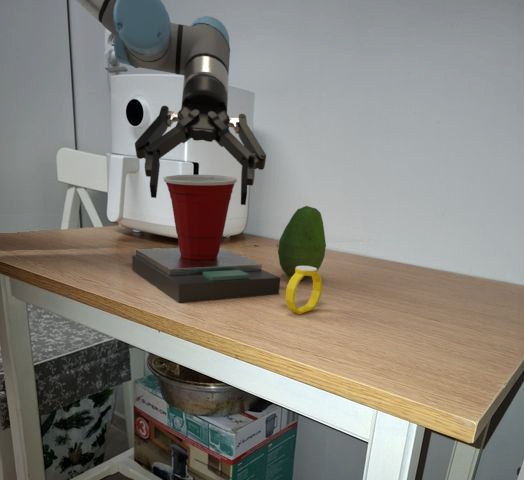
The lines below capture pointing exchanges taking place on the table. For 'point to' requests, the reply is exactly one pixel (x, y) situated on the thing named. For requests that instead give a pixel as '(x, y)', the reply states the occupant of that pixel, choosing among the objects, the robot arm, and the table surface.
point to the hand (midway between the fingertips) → (198, 195)
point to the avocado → (302, 241)
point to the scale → (203, 275)
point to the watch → (293, 283)
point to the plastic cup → (200, 212)
